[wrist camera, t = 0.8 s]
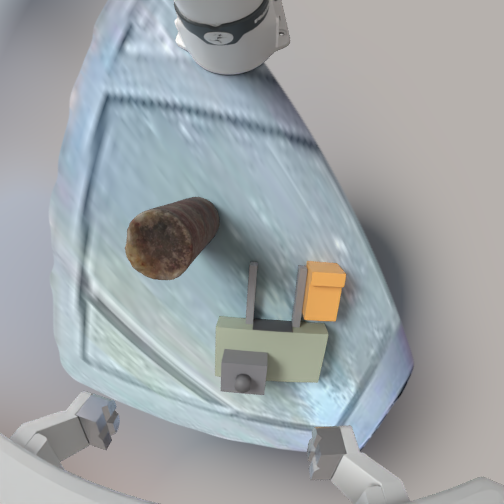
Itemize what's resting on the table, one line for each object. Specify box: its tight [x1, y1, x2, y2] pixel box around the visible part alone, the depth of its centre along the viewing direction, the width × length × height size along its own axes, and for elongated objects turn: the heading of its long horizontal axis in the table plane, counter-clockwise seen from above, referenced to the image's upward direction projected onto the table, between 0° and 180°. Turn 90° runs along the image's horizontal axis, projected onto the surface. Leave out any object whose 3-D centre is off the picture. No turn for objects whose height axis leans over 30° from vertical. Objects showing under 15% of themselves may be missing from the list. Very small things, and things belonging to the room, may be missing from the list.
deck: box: [215, 262, 328, 395], centre depth 44 cm, size 20×18×10 cm
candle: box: [125, 197, 219, 280], centre depth 36 cm, size 8×7×20 cm
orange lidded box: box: [302, 261, 346, 321], centre depth 45 cm, size 8×5×6 cm, turn 176°
